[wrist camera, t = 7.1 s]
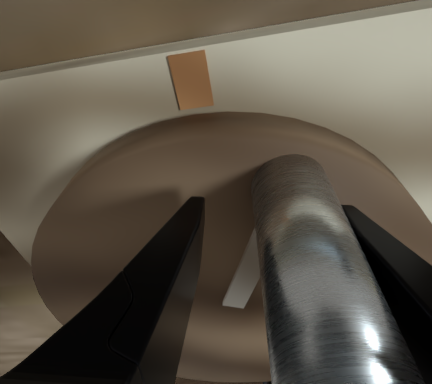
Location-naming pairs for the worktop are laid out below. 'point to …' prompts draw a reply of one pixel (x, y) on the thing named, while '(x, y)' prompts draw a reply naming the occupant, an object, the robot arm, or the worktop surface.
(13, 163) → the birch board
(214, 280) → the walnut dial
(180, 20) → the worktop surface
